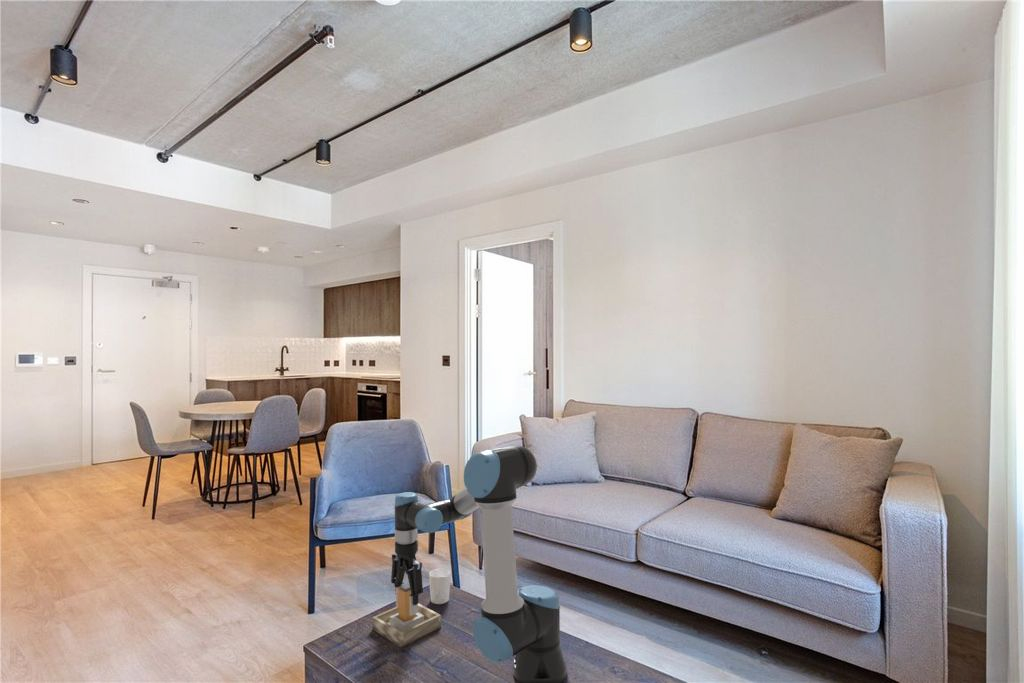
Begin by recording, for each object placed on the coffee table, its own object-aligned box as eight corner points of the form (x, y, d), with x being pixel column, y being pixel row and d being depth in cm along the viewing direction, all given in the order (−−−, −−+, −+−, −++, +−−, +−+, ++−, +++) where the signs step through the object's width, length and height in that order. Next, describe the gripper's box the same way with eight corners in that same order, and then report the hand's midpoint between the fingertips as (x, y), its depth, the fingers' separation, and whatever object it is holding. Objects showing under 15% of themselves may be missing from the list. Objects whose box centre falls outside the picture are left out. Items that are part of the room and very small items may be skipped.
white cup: (454, 597, 191) (454, 570, 191) (443, 606, 184) (443, 578, 184) (436, 593, 194) (436, 567, 195) (425, 602, 187) (424, 575, 187)
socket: (423, 624, 170) (423, 615, 170) (404, 634, 164) (404, 625, 164) (409, 616, 175) (409, 607, 175) (389, 625, 169) (389, 616, 170)
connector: (415, 624, 170) (415, 585, 170) (405, 629, 167) (405, 590, 167) (408, 620, 173) (408, 582, 173) (398, 625, 170) (398, 586, 170)
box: (441, 627, 170) (440, 614, 170) (401, 647, 158) (401, 634, 159) (411, 611, 181) (411, 599, 181) (372, 629, 169) (372, 617, 169)
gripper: (434, 544, 167) (434, 615, 166) (398, 530, 180) (398, 596, 179) (415, 551, 161) (415, 624, 160) (379, 536, 174) (380, 604, 174)
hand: (406, 609), depth 170 cm, fingers open, 7 cm apart
